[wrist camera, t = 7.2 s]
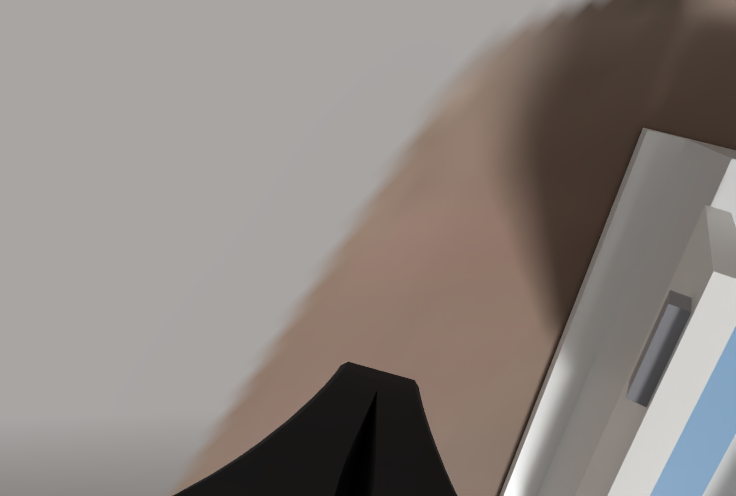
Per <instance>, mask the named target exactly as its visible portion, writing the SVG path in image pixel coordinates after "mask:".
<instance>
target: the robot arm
mask: <svg viewBox="0 0 736 496" xmlns="http://www.w3.org/2000/svg"><path fill="white" fill-rule="evenodd" d="M173 496H457V494H456V492H455V490H454V488H453V486H452V484H451V481H450V479H449V477H448V474H447V472H446V470H445V468H444V465H443V462H442V460H441V457H440V455H439V452H438V450H437V447H436V445H435V442H434V439H433V436H432V434H431V431H430V428H429V425H428V421H427V418H426V415H425V412H424V408H423V405H422V401H421V397H420V392H419V387H418V385H417V384H416V382H415V380H412V379H408V378H405V377H401V376H397V375H394V374H390V373H387V372H383V371H379V370H376V369H372V368H369V367H365V366H361V365H358V364H354V363H351V362H347V363H345V364H343V365H341V366H340V367H339V369H338V370H337V372H336V373H335V374H334V375H333V377H332V378H331V379H330V380H329V381H328V382H327V383H326V385H325V386H324V387H323V388H322V389H321V390H320V391H319V392H318V393H317V394H316V395H315V396H314V397H313V398H312V399H311V400H310V401H308V402H307V403H306V404H305V405H304V406H303V407H302V408H301V409H300V410H299V411H298V412H297V413H295V414H294V415H293V416H292V417H291V418H290V419H289V420H287V421H286V422H285V423H284V424H282V425H281V426H280V427H279V428H277V429H276V430H275V431H274V432H272V433H271V434H270V435H268V436H267V437H266V438H265V439H263V440H262V441H261V442H260V443H258V444H257V445H255V446H254V447H253V448H251V449H250V450H248V451H247V452H246V453H244V454H243V455H241V456H240V457H238V458H237V459H235V460H234V461H232V462H231V463H229V464H227V465H226V466H224V467H223V468H221V469H219V470H218V471H216V472H215V473H213V474H211V475H210V476H208V477H206V478H204V479H202V480H201V481H199V482H197V483H195V484H193V485H192V486H190V487H188V488H186V489H184V490H183V491H181V492H179V493H177V494H175V495H173Z"/></svg>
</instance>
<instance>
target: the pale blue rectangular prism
mask: <svg viewBox="0 0 736 496" xmlns="http://www.w3.org/2000/svg"><path fill="white" fill-rule="evenodd" d="M735 434H736V326H735V328H734V330H733V332H732V334H731V336H730V338H729V340H728V342H727V344H726V346H725V348H724V350H723V352H722V354H721V356H720V358H719V360H718V362H717V364H716V366H715V368H714V370H713V372H712V374H711V376H710V378H709V380H708V382H707V384H706V386H705V388H704V390H703V392H702V394H701V396H700V398H699V400H698V402H697V404H696V406H695V407H694V409H693V411H692V413H691V415H690V417H689V419H688V421H687V423H686V425H685V427H684V429H683V431H682V433H681V435H680V437H679V439H678V441H677V443H676V445H675V447H674V449H673V451H672V453H671V455H670V457H669V459H668V461H667V463H666V465H665V467H664V469H663V471H662V473H661V475H660V477H659V479H658V481H657V483H656V485H655V486H654V488H653V490H652V492H651V494H650V496H702V495H703V493H704V492H705V490H706V488H707V486H708V484H709V482H710V480H711V479H712V477H713V475H714V473H715V471H716V469H717V468H718V466H719V464H720V462H721V460H722V458H723V456H724V455H725V453H726V451H727V449H728V447H729V445H730V443H731V442H732V440H733V438H734V436H735Z"/></svg>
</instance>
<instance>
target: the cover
mask: <svg viewBox="0 0 736 496" xmlns="http://www.w3.org/2000/svg"><path fill="white" fill-rule="evenodd" d="M735 326H736V226H735V223H734V220H733V217H732V214H731V212H727V211H724V210H721V209H718V208H714V207H711V206H708V205H705V206H704V208H703V211H702V213H701V215H700V217H699V220H698V222H697V224H696V226H695V228H694V231H693V233H692V235H691V237H690V240H689V242H688V244H687V246H686V249H685V251H684V253H683V255H682V257H681V260H680V262H679V264H678V266H677V269H676V271H675V273H674V275H673V278H672V280H671V282H670V284H669V286H668V289H667V291H666V293H665V295H664V298H663V300H662V302H661V304H660V307H659V309H658V311H657V313H656V315H655V318H654V320H653V322H652V324H651V327H650V329H649V331H648V333H647V336H646V338H645V340H644V342H643V344H642V347H641V349H640V351H639V353H638V356H637V358H636V360H635V362H634V365H633V367H632V369H631V371H630V373H629V376H628V378H627V380H626V382H625V385H624V387H623V389H622V391H621V394H620V396H619V398H618V400H617V402H616V405H615V407H614V409H613V411H612V414H611V416H610V418H609V420H608V423H607V425H606V427H605V429H604V431H603V434H602V436H601V438H600V440H599V443H598V445H597V447H596V449H595V452H594V454H593V456H592V458H591V460H590V463H589V465H588V467H587V469H586V472H585V474H584V476H583V478H582V481H581V483H580V485H579V487H578V489H577V492H576V494H575V496H650V494H651V492H652V490H653V488H654V486H655V485H656V483H657V481H658V479H659V477H660V475H661V473H662V471H663V469H664V467H665V465H666V463H667V461H668V459H669V457H670V455H671V453H672V451H673V449H674V447H675V445H676V443H677V441H678V439H679V437H680V435H681V433H682V431H683V429H684V427H685V425H686V423H687V421H688V419H689V417H690V415H691V413H692V411H693V409H694V407H695V406H696V404H697V402H698V400H699V398H700V396H701V394H702V392H703V390H704V388H705V386H706V384H707V382H708V380H709V378H710V376H711V374H712V372H713V370H714V368H715V366H716V364H717V362H718V360H719V358H720V356H721V354H722V352H723V350H724V348H725V346H726V344H727V342H728V340H729V338H730V336H731V334H732V332H733V330H734V328H735Z"/></svg>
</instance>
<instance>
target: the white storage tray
mask: <svg viewBox="0 0 736 496" xmlns="http://www.w3.org/2000/svg"><path fill="white" fill-rule="evenodd" d="M705 205H708V206H711V207H714V208H718V209H721V210H724V211H727V212H731V214H732V217H733V220H734V223H735V226H736V150H732V149H728V148H724V147H720V146H716V145H712V144H708V143H704V142H700V141H696V140H692V139H688V138H684V137H680V136H676V135H672V134H668V133H663V132H659V131H655V130H651V129H647V128H643V129H642V131H641V134H640V137H639V139H638V142H637V144H636V147H635V149H634V152H633V155H632V157H631V160H630V162H629V165H628V167H627V170H626V172H625V175H624V178H623V180H622V183H621V185H620V188H619V190H618V193H617V196H616V198H615V201H614V203H613V206H612V208H611V211H610V214H609V216H608V219H607V221H606V224H605V226H604V229H603V231H602V234H601V237H600V239H599V242H598V244H597V247H596V249H595V252H594V255H593V257H592V260H591V262H590V265H589V267H588V270H587V272H586V275H585V278H584V280H583V283H582V285H581V288H580V290H579V293H578V296H577V298H576V301H575V303H574V306H573V308H572V311H571V313H570V316H569V319H568V321H567V324H566V326H565V329H564V331H563V334H562V337H561V339H560V342H559V344H558V347H557V349H556V352H555V354H554V357H553V360H552V362H551V365H550V367H549V370H548V372H547V375H546V378H545V380H544V383H543V385H542V388H541V390H540V393H539V395H538V398H537V401H536V403H535V406H534V408H533V411H532V413H531V416H530V419H529V421H528V424H527V426H526V429H525V431H524V434H523V437H522V439H521V442H520V444H519V447H518V449H517V452H516V454H515V457H514V460H513V462H512V465H511V467H510V470H509V472H508V475H507V478H506V480H505V483H504V485H503V488H502V490H501V493H500V495H499V496H575V494H576V492H577V489H578V487H579V485H580V483H581V481H582V478H583V476H584V474H585V472H586V469H587V467H588V465H589V463H590V460H591V458H592V456H593V454H594V452H595V449H596V447H597V445H598V443H599V440H600V438H601V436H602V434H603V431H604V429H605V427H606V425H607V423H608V420H609V418H610V416H611V414H612V411H613V409H614V407H615V405H616V402H617V400H618V398H619V396H620V394H621V391H622V389H623V387H624V385H625V382H626V380H627V378H628V376H629V373H630V371H631V369H632V367H633V365H634V362H635V360H636V358H637V356H638V353H639V351H640V349H641V347H642V344H643V342H644V340H645V338H646V336H647V333H648V331H649V329H650V327H651V324H652V322H653V320H654V318H655V315H656V313H657V311H658V309H659V307H660V304H661V302H662V300H663V298H664V295H665V293H666V291H667V289H668V286H669V284H670V282H671V280H672V278H673V275H674V273H675V271H676V269H677V266H678V264H679V262H680V260H681V257H682V255H683V253H684V251H685V249H686V246H687V244H688V242H689V240H690V237H691V235H692V233H693V231H694V228H695V226H696V224H697V222H698V220H699V217H700V215H701V213H702V211H703V208H704V206H705ZM702 496H736V434H735V436H734V438H733V440H732V442H731V443H730V445H729V447H728V449H727V451H726V453H725V455H724V456H723V458H722V460H721V462H720V464H719V466H718V468H717V469H716V471H715V473H714V475H713V477H712V479H711V480H710V482H709V484H708V486H707V488H706V490H705V492H704V493H703V495H702Z"/></svg>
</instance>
